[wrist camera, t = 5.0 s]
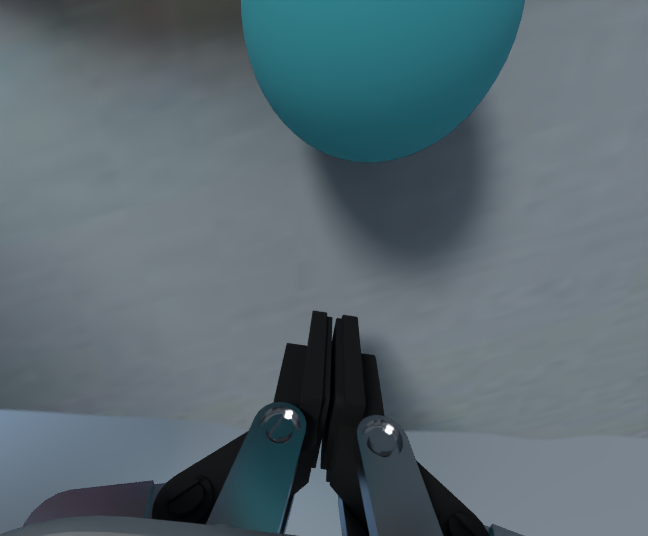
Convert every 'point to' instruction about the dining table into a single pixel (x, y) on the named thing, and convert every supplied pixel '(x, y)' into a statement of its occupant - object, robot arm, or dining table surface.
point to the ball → (377, 68)
